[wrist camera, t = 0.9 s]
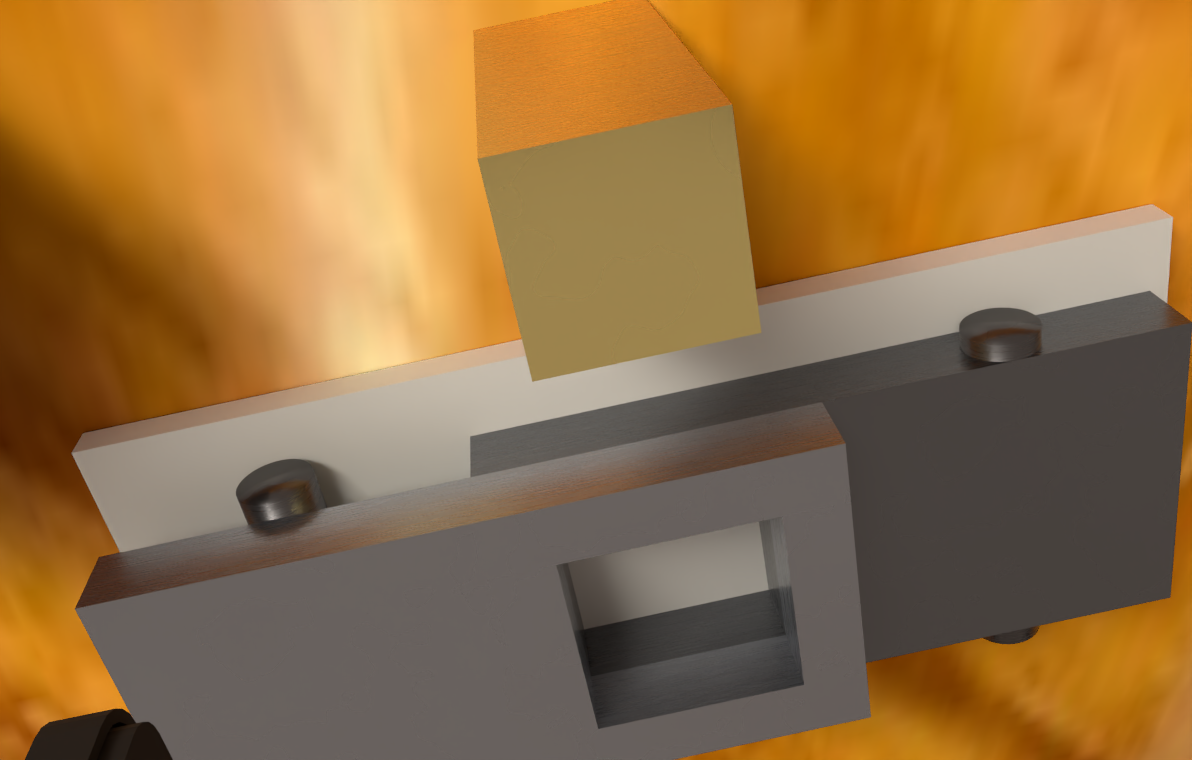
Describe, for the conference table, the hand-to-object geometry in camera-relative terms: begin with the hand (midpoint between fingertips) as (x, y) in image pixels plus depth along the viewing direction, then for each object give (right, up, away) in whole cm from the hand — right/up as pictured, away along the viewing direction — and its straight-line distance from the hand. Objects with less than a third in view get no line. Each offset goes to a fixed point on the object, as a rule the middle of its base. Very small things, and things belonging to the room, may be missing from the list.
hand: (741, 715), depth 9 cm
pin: (-2, +10, +18) cm, 20 cm away
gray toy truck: (+1, -1, +24) cm, 24 cm away
